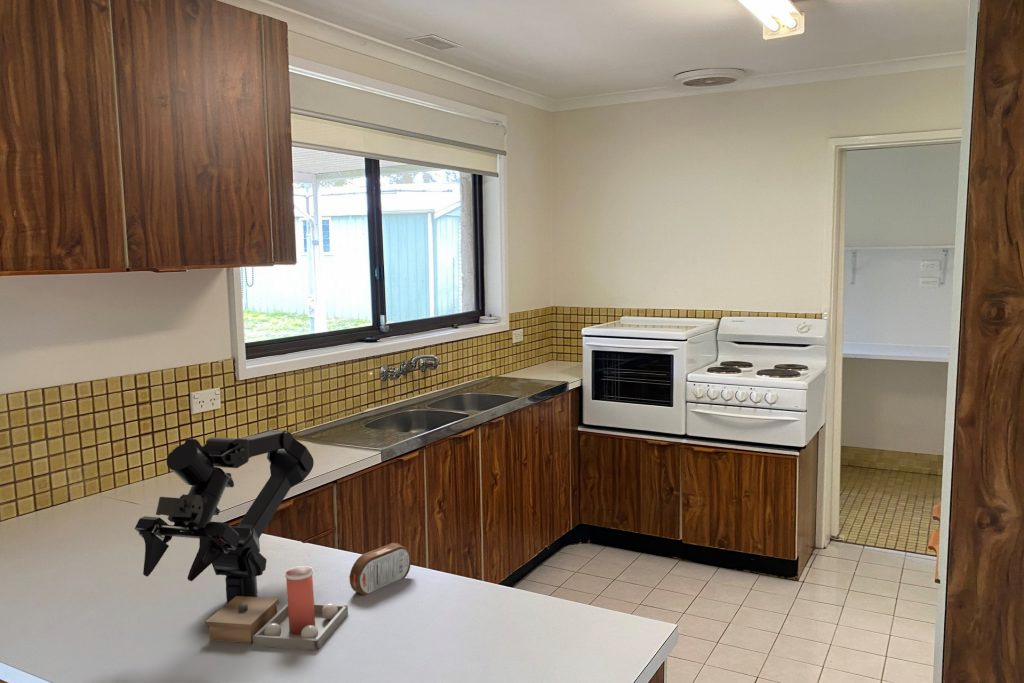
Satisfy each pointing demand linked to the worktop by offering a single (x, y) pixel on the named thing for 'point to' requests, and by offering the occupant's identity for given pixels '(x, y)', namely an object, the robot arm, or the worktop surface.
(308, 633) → the white glossy ball
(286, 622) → the tray
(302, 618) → the scoop cup
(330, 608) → the pebble
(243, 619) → the lidded box
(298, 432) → the worktop surface
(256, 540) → the robot arm
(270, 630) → the shiny white sphere
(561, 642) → the worktop surface
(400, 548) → the tin
